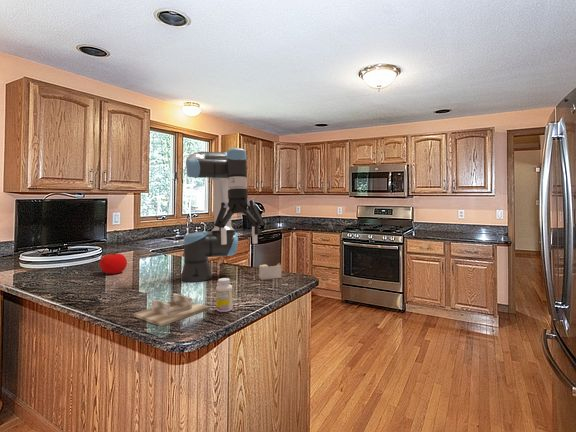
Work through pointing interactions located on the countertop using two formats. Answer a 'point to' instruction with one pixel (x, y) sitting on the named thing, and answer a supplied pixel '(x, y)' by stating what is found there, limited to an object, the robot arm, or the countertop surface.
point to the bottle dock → (170, 310)
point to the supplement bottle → (224, 295)
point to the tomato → (113, 263)
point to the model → (269, 272)
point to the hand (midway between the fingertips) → (239, 244)
